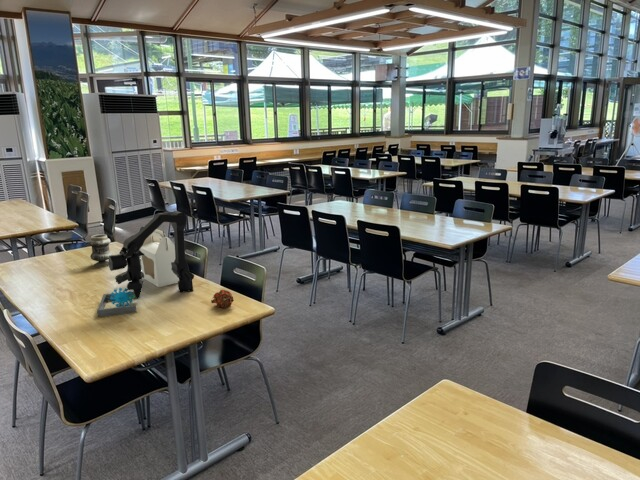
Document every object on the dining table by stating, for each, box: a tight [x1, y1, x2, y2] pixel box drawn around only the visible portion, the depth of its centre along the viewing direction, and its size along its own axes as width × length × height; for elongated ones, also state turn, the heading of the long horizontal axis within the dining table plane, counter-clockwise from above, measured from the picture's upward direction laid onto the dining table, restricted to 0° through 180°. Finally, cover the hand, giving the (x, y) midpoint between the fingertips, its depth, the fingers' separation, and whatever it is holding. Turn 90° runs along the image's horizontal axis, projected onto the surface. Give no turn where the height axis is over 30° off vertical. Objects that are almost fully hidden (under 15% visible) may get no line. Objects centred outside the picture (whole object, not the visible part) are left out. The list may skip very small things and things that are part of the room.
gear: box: [109, 287, 136, 307], centre depth 214 cm, size 11×6×10 cm
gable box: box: [140, 228, 179, 288], centre depth 246 cm, size 22×13×28 cm, turn 41°
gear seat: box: [96, 290, 138, 318], centre depth 212 cm, size 16×21×3 cm
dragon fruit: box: [210, 289, 235, 309], centre depth 209 cm, size 8×8×12 cm
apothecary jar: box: [88, 233, 113, 268], centre depth 278 cm, size 12×12×18 cm
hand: (138, 298), depth 217 cm, fingers closed, pressing on gear
